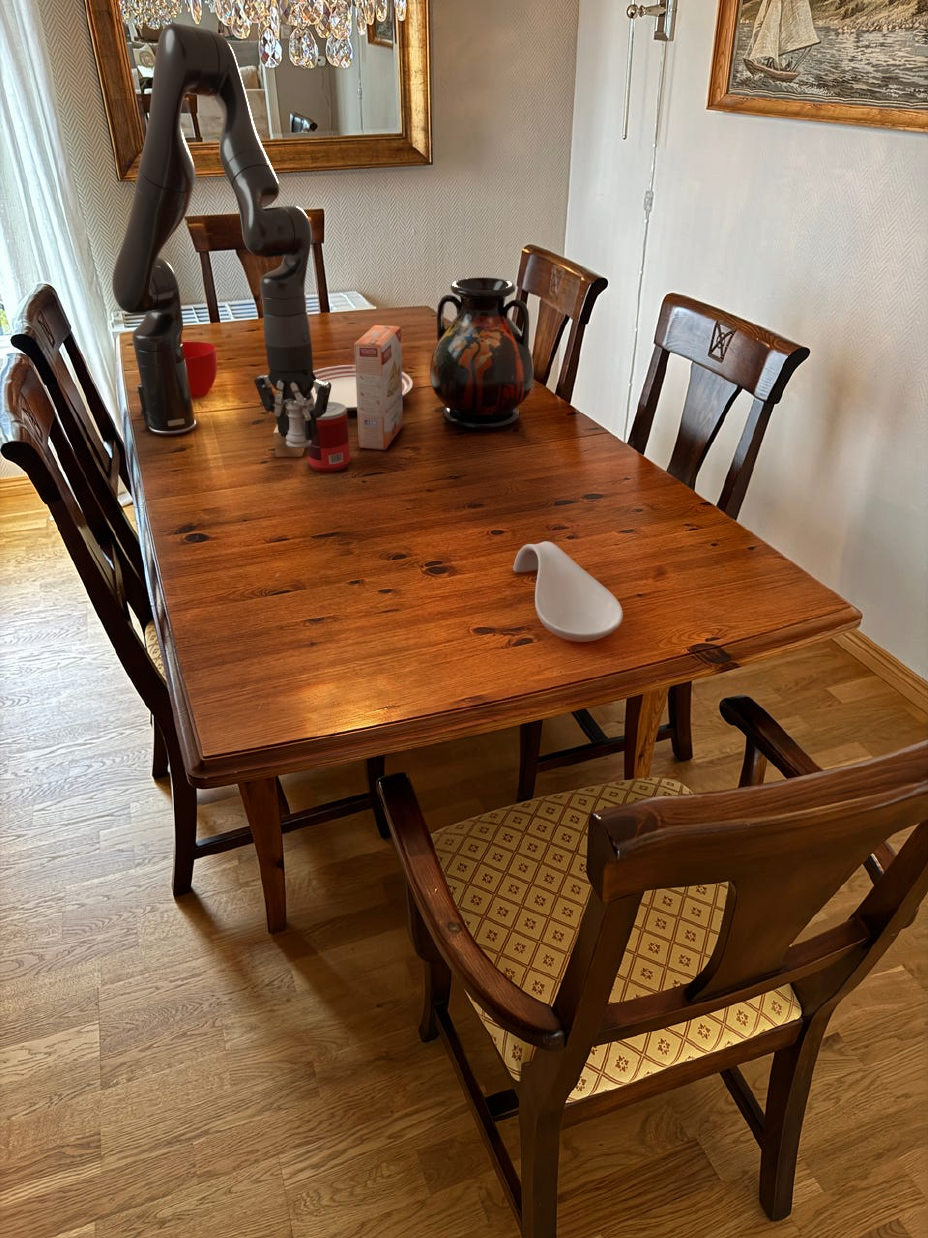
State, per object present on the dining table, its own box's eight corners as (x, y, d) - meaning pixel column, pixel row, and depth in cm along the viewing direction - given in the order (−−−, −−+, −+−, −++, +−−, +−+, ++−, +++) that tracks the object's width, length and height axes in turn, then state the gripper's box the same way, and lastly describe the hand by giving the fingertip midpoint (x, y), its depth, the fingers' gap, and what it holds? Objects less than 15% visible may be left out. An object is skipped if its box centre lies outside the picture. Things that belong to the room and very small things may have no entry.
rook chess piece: (287, 440, 160) (282, 396, 156) (312, 439, 160) (308, 395, 156) (285, 449, 156) (280, 405, 152) (311, 449, 156) (306, 404, 152)
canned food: (357, 459, 173) (353, 404, 167) (339, 475, 167) (334, 418, 161) (321, 453, 175) (316, 399, 169) (302, 469, 169) (296, 413, 163)
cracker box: (387, 451, 177) (382, 345, 165) (358, 449, 178) (351, 342, 166) (405, 426, 188) (402, 325, 177) (377, 424, 189) (372, 323, 178)
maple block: (276, 456, 174) (273, 432, 172) (280, 446, 178) (277, 422, 176) (301, 456, 174) (299, 432, 172) (305, 446, 179) (302, 422, 176)
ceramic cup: (237, 380, 213) (231, 338, 207) (208, 404, 199) (201, 359, 193) (186, 377, 214) (179, 335, 209) (153, 401, 200) (145, 356, 195)
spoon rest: (636, 644, 121) (642, 599, 117) (557, 662, 117) (560, 616, 113) (559, 563, 139) (562, 522, 135) (489, 576, 136) (490, 534, 132)
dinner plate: (384, 425, 189) (383, 410, 187) (269, 410, 196) (267, 395, 194) (430, 385, 210) (430, 371, 209) (324, 373, 218) (323, 359, 216)
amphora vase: (417, 433, 185) (413, 292, 170) (447, 399, 202) (446, 268, 187) (519, 444, 180) (525, 300, 165) (540, 408, 198) (547, 275, 182)
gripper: (337, 336, 149) (344, 434, 158) (261, 328, 153) (272, 424, 162) (316, 349, 143) (325, 450, 153) (238, 340, 147) (251, 439, 156)
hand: (298, 436), depth 157 cm, fingers closed on rook chess piece, 4 cm apart
